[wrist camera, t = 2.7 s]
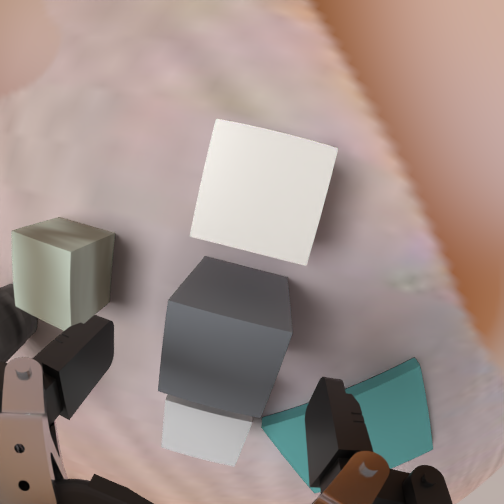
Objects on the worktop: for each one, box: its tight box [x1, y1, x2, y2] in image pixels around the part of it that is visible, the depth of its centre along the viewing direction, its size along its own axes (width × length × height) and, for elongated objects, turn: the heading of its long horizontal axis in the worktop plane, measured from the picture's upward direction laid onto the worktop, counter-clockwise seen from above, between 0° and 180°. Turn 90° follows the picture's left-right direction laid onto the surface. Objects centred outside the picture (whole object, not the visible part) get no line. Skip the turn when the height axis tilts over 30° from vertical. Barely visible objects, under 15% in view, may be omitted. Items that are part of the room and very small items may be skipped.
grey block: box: [161, 394, 253, 467], centre depth 16 cm, size 4×4×4 cm
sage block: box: [12, 217, 115, 331], centre depth 15 cm, size 4×4×4 cm
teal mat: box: [261, 357, 433, 493], centre depth 18 cm, size 11×11×1 cm
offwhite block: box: [190, 119, 338, 266], centre depth 13 cm, size 4×4×4 cm
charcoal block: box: [158, 256, 293, 418], centre depth 14 cm, size 4×4×6 cm
